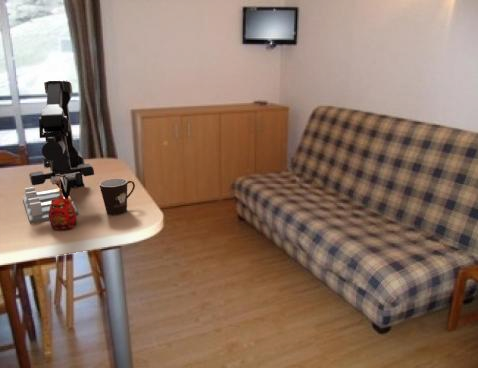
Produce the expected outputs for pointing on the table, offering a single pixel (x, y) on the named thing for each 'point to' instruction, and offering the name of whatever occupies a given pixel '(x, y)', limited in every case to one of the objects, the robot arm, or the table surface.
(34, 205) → the grey stepped panel
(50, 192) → the strap far
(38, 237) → the table surface
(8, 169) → the table surface
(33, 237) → the table surface
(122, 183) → the coffee mug
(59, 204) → the red clay folk toy
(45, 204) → the strap near
